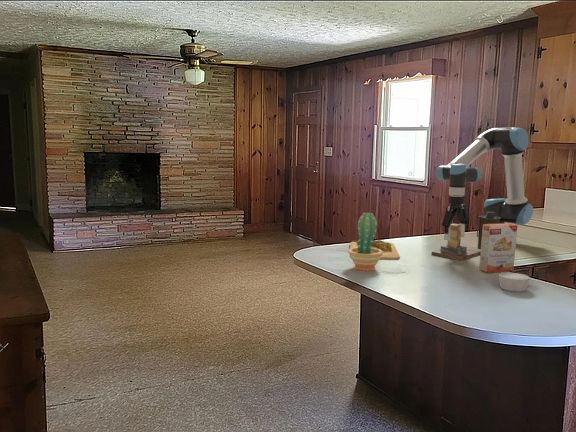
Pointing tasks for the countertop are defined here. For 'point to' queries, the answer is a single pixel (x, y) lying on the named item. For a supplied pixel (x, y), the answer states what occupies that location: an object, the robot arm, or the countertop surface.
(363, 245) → the potted cactus
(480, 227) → the canister
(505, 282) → the ramekin
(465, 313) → the countertop surface
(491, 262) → the cracker box
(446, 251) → the wick stand
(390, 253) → the cutting board
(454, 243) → the oak peg
